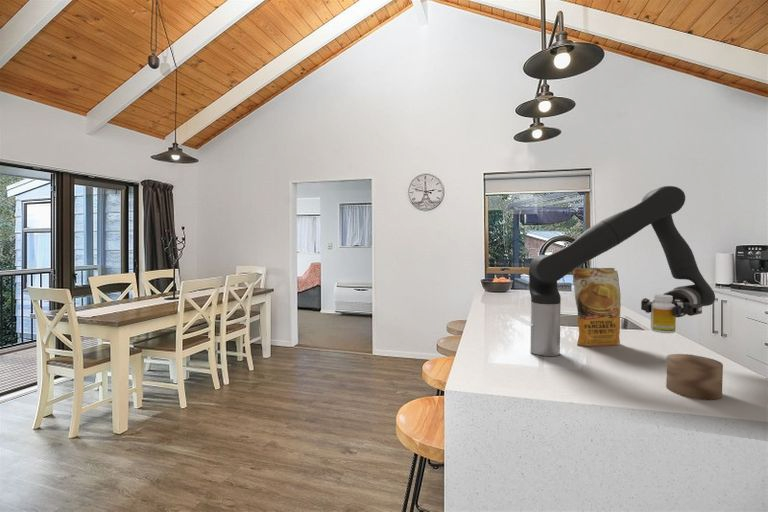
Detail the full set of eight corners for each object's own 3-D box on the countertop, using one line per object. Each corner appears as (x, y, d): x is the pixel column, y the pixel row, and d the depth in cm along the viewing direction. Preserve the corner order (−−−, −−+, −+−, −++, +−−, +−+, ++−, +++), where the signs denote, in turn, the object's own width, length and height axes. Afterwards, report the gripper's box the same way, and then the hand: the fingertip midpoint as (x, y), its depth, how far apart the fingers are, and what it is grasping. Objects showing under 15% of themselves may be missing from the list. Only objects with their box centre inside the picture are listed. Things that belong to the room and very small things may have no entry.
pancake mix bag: (566, 342, 144) (567, 267, 143) (615, 340, 146) (616, 266, 145) (577, 347, 138) (578, 268, 136) (627, 345, 139) (629, 268, 138)
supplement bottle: (679, 334, 101) (680, 297, 100) (656, 333, 102) (657, 296, 101) (668, 329, 106) (669, 294, 106) (646, 328, 107) (647, 293, 107)
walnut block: (674, 396, 95) (675, 364, 94) (660, 381, 105) (661, 352, 105) (730, 403, 91) (731, 369, 90) (710, 386, 101) (711, 356, 101)
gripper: (649, 287, 118) (629, 293, 107) (710, 292, 107) (695, 299, 96) (649, 311, 118) (629, 320, 108) (709, 318, 107) (694, 329, 97)
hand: (660, 310), depth 102 cm, fingers closed on supplement bottle, 5 cm apart
